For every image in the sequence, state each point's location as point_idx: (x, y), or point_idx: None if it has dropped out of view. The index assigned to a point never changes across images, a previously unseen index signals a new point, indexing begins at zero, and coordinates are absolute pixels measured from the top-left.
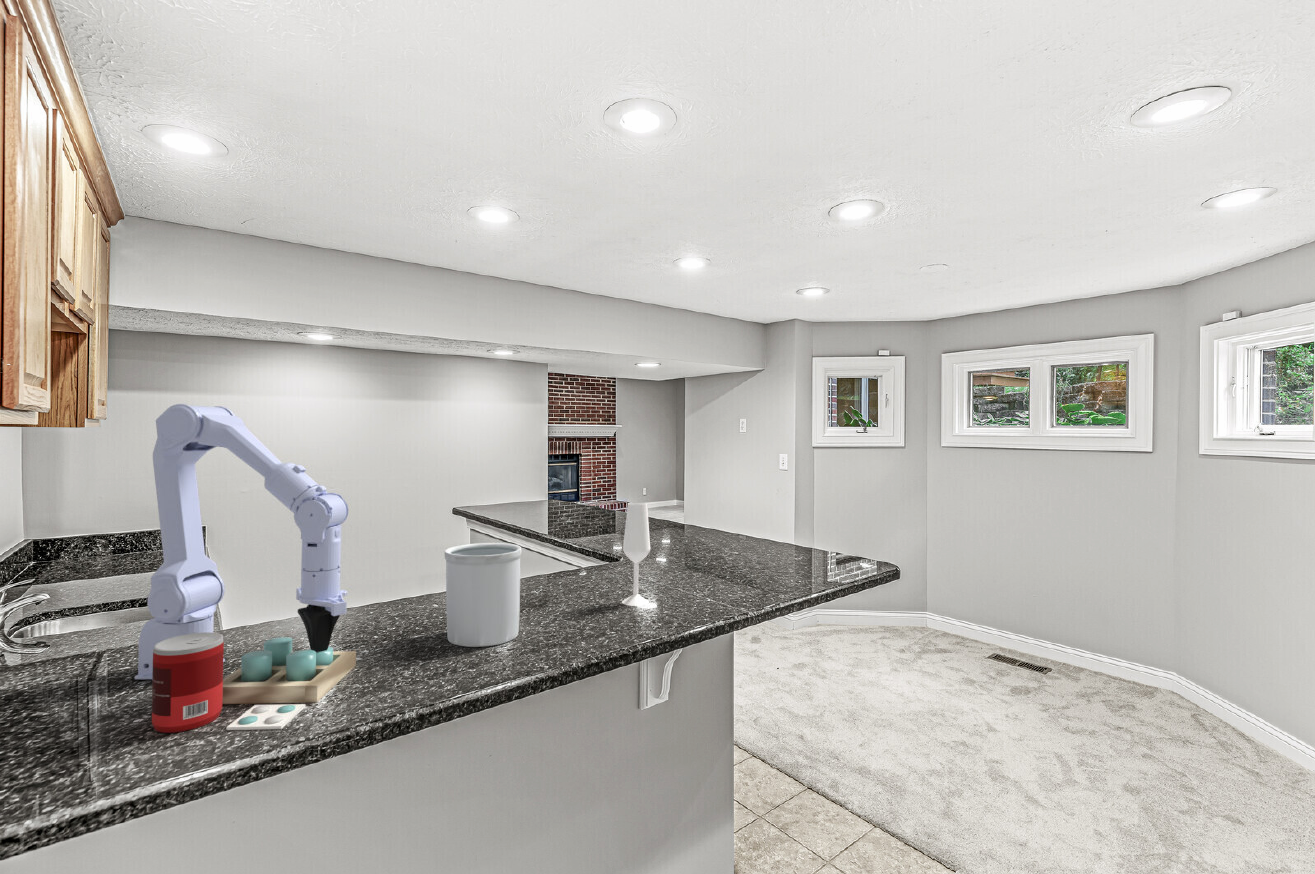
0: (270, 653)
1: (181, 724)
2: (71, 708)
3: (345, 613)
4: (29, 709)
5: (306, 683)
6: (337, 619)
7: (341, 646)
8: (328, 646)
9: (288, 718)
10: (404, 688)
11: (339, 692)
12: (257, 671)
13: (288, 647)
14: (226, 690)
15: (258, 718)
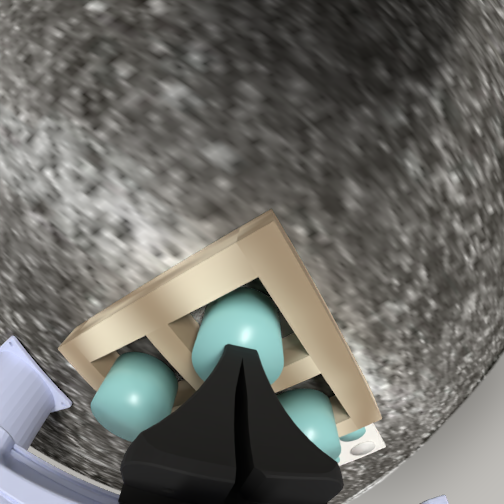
0: None
1: None
2: (93, 466)
3: (443, 496)
4: (73, 466)
5: (351, 424)
6: (310, 440)
7: (73, 117)
8: (257, 354)
9: (378, 438)
10: (489, 266)
11: (382, 351)
12: None
13: (163, 409)
14: None
15: None
